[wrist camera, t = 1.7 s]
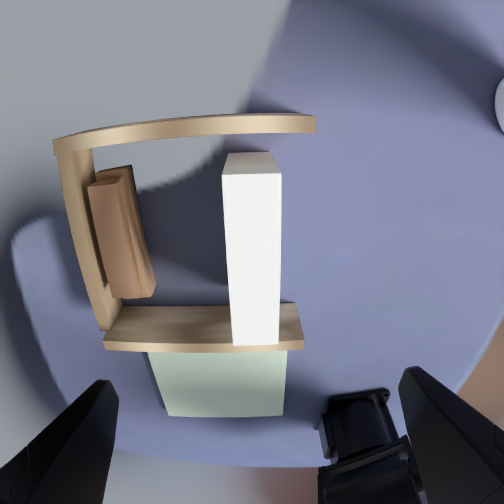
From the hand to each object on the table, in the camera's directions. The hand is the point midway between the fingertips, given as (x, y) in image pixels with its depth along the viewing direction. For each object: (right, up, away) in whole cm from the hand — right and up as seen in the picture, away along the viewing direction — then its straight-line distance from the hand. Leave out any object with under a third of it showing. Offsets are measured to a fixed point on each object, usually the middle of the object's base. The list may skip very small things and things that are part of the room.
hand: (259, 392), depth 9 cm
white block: (0, +6, +12) cm, 13 cm away
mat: (-3, -6, +17) cm, 19 cm away
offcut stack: (-8, +6, +12) cm, 15 cm away
